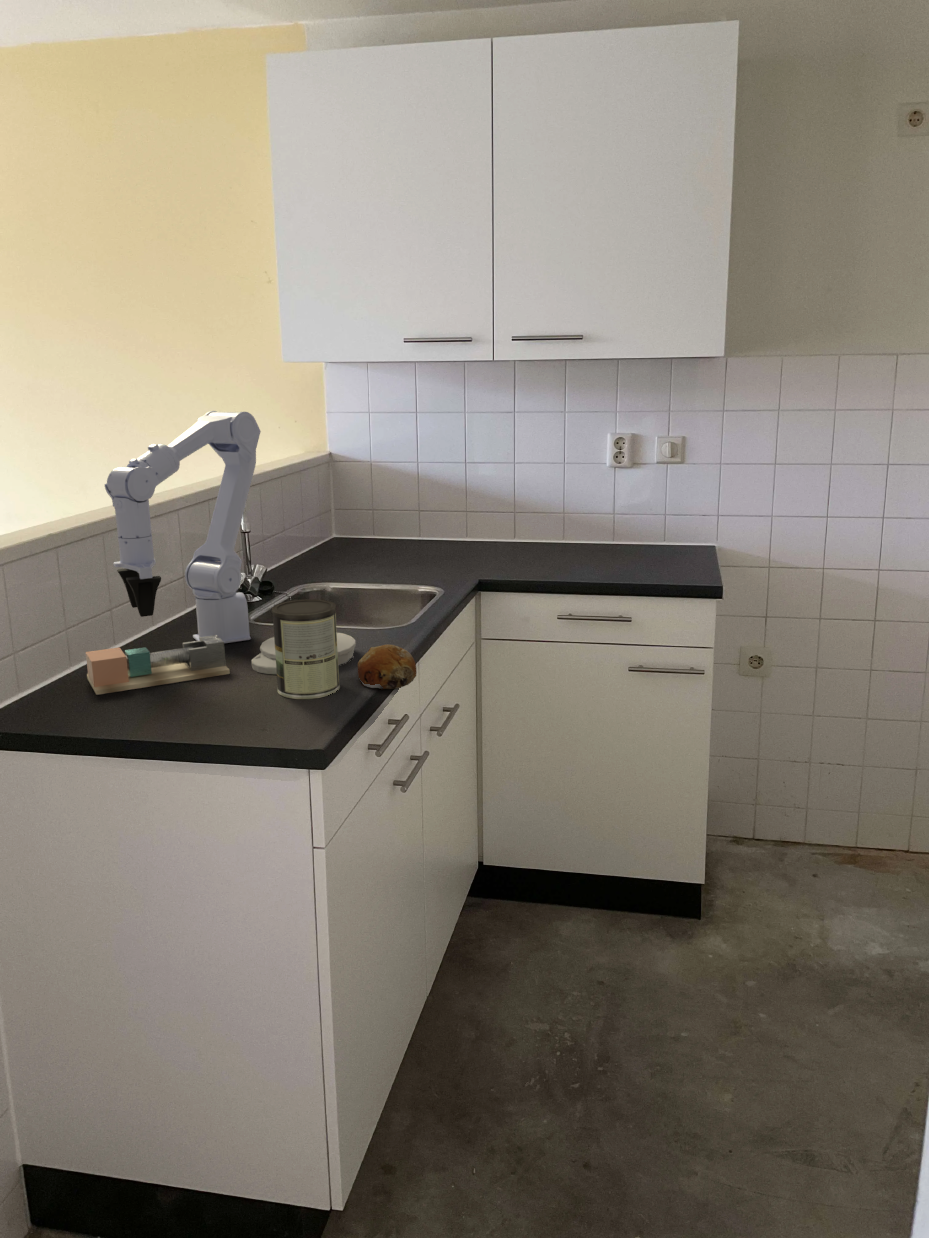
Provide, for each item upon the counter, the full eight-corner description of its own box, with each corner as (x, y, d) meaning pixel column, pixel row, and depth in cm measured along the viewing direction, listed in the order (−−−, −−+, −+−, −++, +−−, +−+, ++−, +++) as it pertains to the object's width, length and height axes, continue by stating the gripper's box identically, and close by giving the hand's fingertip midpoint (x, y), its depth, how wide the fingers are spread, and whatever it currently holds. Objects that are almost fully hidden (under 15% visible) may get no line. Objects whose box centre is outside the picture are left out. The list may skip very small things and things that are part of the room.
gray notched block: (217, 658, 177) (216, 634, 176) (225, 665, 173) (223, 641, 172) (184, 663, 175) (182, 639, 173) (191, 671, 170) (189, 646, 169)
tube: (191, 662, 174) (189, 641, 173) (195, 667, 171) (194, 645, 170) (102, 675, 167) (100, 653, 166) (105, 680, 164) (103, 658, 164)
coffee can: (263, 691, 162) (258, 607, 158) (311, 676, 169) (306, 596, 166) (306, 704, 155) (301, 617, 152) (353, 687, 163) (349, 604, 159)
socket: (122, 671, 170) (119, 647, 169) (128, 681, 165) (126, 656, 164) (88, 676, 168) (85, 651, 167) (94, 687, 162) (91, 661, 161)
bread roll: (417, 694, 170) (416, 648, 172) (416, 687, 160) (415, 638, 162) (360, 695, 170) (359, 650, 172) (355, 689, 160) (354, 640, 162)
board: (214, 659, 180) (214, 655, 179) (229, 673, 171) (229, 669, 171) (87, 678, 169) (86, 674, 169) (96, 694, 161) (95, 690, 161)
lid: (228, 664, 178) (227, 648, 177) (314, 640, 192) (314, 626, 191) (289, 683, 166) (288, 666, 166) (376, 657, 181) (375, 641, 180)
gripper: (104, 532, 177) (112, 605, 181) (118, 544, 165) (126, 622, 168) (144, 528, 181) (151, 600, 184) (161, 540, 168) (168, 617, 172)
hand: (142, 611), depth 176 cm, fingers open, 7 cm apart
